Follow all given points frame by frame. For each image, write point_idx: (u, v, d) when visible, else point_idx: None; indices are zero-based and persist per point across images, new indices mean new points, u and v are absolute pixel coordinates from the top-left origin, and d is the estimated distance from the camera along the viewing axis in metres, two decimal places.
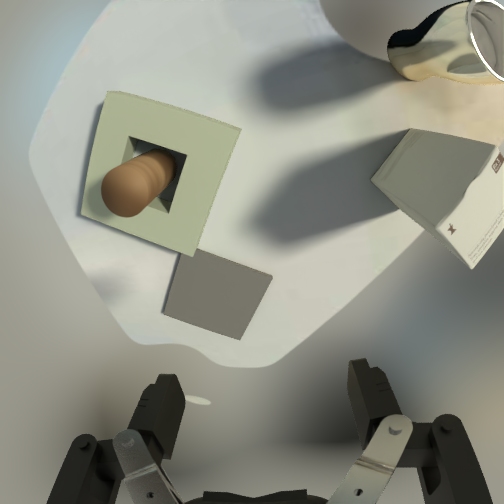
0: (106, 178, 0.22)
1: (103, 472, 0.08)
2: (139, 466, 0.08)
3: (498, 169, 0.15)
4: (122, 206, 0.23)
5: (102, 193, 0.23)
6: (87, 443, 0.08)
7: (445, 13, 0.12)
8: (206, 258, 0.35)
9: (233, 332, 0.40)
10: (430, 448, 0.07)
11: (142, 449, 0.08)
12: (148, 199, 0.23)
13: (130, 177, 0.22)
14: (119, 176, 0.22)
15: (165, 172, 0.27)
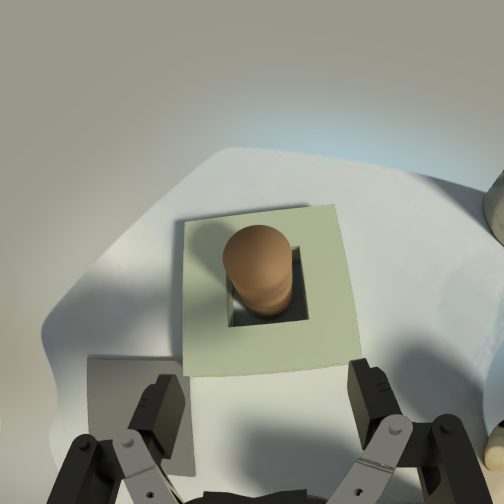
0: (264, 228, 0.20)
1: (103, 472, 0.08)
2: (139, 466, 0.08)
3: None
4: (237, 260, 0.19)
5: (243, 229, 0.20)
6: (87, 443, 0.08)
7: None
8: None
9: None
10: (430, 448, 0.07)
11: (142, 449, 0.08)
12: (260, 289, 0.19)
13: (279, 256, 0.19)
14: (274, 243, 0.20)
15: (281, 302, 0.23)
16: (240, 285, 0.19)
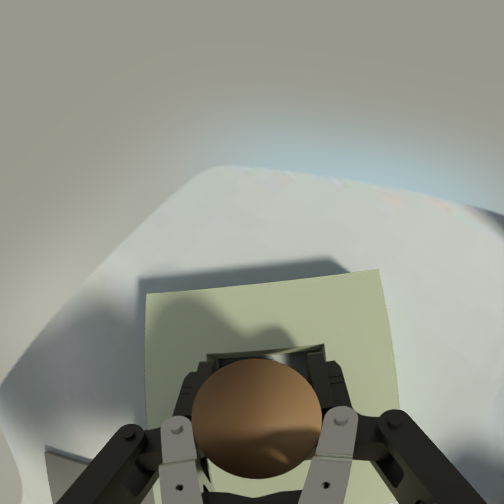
0: (271, 367, 0.10)
1: (143, 464, 0.09)
2: (180, 455, 0.08)
3: None
4: (218, 428, 0.09)
5: (229, 367, 0.10)
6: (133, 433, 0.09)
7: None
8: None
9: None
10: (376, 442, 0.08)
11: None
12: None
13: (298, 425, 0.09)
14: (290, 398, 0.09)
15: None
16: (225, 469, 0.08)
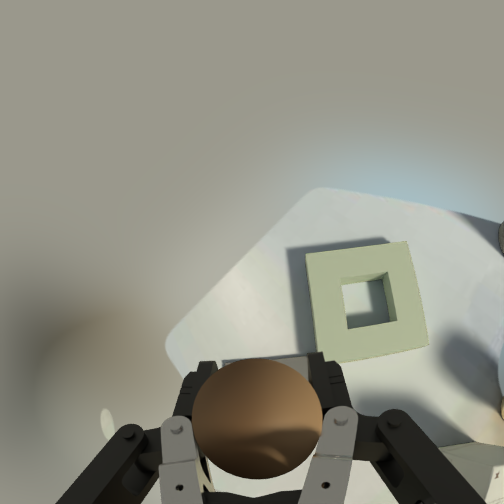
0: (271, 367, 0.10)
1: (143, 464, 0.09)
2: (180, 455, 0.08)
3: None
4: (218, 427, 0.09)
5: (230, 367, 0.10)
6: (133, 433, 0.09)
7: None
8: None
9: None
10: (376, 442, 0.08)
11: None
12: None
13: (299, 425, 0.09)
14: (290, 398, 0.09)
15: None
16: (225, 469, 0.08)
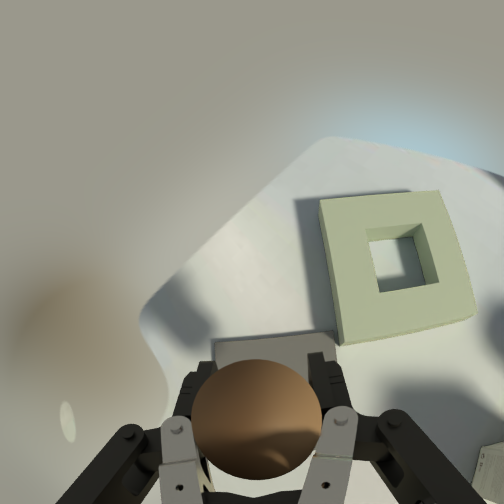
0: (271, 368, 0.10)
1: (143, 464, 0.09)
2: (180, 455, 0.08)
3: None
4: (218, 428, 0.09)
5: (229, 368, 0.10)
6: (133, 433, 0.09)
7: None
8: None
9: None
10: (376, 442, 0.08)
11: None
12: None
13: (298, 426, 0.09)
14: (289, 399, 0.09)
15: None
16: (225, 470, 0.08)
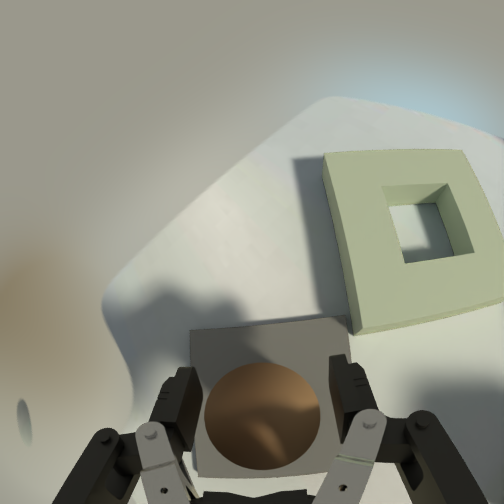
0: (275, 370, 0.11)
1: (122, 467, 0.09)
2: (158, 460, 0.08)
3: None
4: (228, 424, 0.10)
5: (238, 370, 0.11)
6: (109, 437, 0.09)
7: None
8: None
9: (211, 460, 0.17)
10: (404, 443, 0.08)
11: (167, 441, 0.09)
12: None
13: (300, 421, 0.10)
14: (292, 398, 0.10)
15: None
16: (234, 462, 0.10)
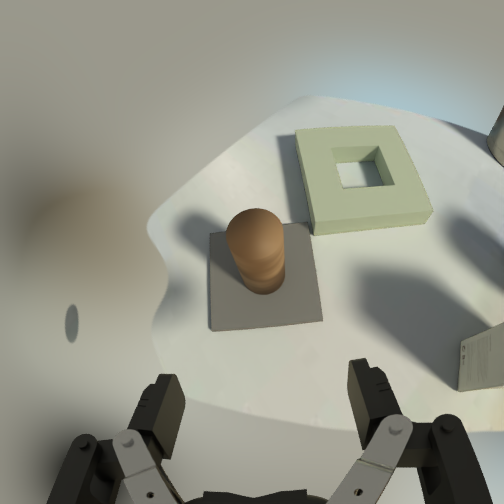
0: (261, 211, 0.24)
1: (103, 472, 0.08)
2: (139, 466, 0.08)
3: None
4: (238, 237, 0.23)
5: (243, 212, 0.24)
6: (87, 443, 0.08)
7: None
8: (307, 246, 0.32)
9: (221, 316, 0.30)
10: (430, 448, 0.07)
11: (142, 449, 0.08)
12: (257, 260, 0.23)
13: (273, 233, 0.23)
14: (269, 223, 0.23)
15: (275, 276, 0.27)
16: (241, 257, 0.23)
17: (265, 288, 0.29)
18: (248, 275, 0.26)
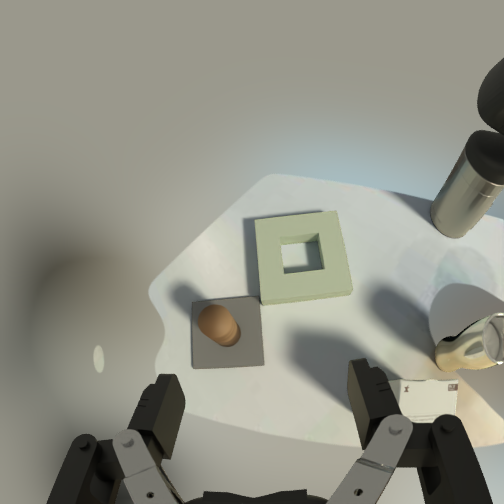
0: (218, 306, 0.39)
1: (103, 472, 0.08)
2: (139, 466, 0.08)
3: (450, 390, 0.26)
4: (205, 323, 0.38)
5: (208, 306, 0.39)
6: (87, 443, 0.08)
7: (485, 317, 0.30)
8: (256, 314, 0.47)
9: (199, 360, 0.45)
10: (430, 448, 0.07)
11: (142, 449, 0.08)
12: (216, 337, 0.37)
13: (225, 321, 0.38)
14: (223, 314, 0.38)
15: (231, 340, 0.42)
16: (206, 335, 0.37)
17: (226, 345, 0.43)
18: (213, 340, 0.41)
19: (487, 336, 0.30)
